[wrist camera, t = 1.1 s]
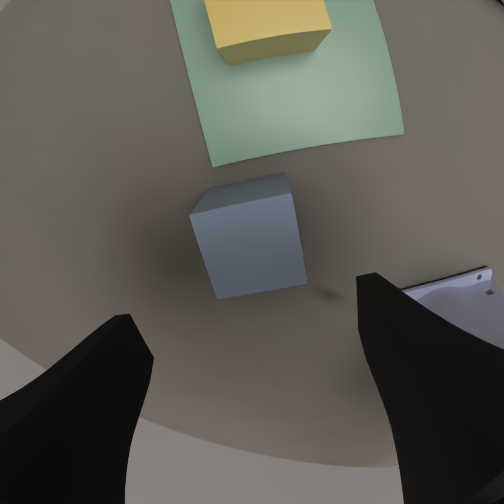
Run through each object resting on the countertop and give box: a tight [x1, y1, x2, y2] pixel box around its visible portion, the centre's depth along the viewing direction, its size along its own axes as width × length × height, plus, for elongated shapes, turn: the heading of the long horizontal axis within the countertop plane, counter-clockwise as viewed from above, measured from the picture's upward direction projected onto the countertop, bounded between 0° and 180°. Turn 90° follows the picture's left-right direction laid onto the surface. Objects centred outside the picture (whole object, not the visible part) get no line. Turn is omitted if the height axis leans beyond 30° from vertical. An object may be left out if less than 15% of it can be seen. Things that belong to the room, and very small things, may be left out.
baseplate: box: [170, 0, 404, 167], centre depth 13 cm, size 11×11×1 cm
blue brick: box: [189, 173, 308, 299], centre depth 16 cm, size 4×4×4 cm
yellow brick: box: [204, 0, 332, 66], centre depth 10 cm, size 4×4×4 cm
